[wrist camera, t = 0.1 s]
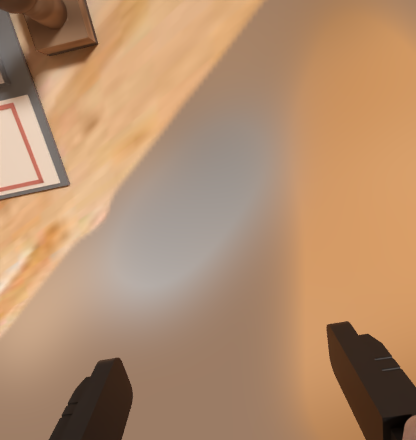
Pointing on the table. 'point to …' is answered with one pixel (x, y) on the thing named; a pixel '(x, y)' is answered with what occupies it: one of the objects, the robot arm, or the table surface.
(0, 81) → the ink pad
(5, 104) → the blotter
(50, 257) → the table surface
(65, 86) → the table surface
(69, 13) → the stamp
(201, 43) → the table surface
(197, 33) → the table surface
